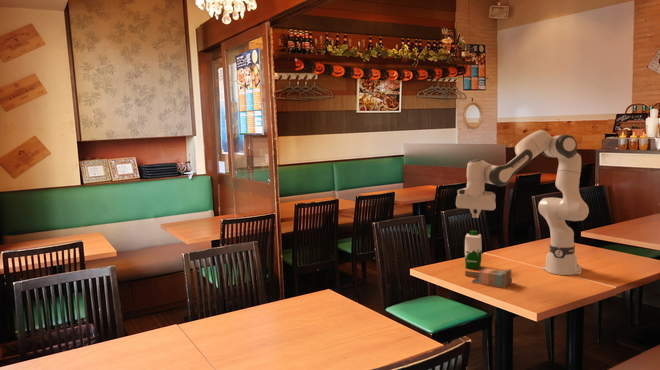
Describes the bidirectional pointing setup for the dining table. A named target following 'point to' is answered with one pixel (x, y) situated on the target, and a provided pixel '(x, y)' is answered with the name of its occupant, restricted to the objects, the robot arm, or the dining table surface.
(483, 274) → the salmon pink block
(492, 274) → the brown block
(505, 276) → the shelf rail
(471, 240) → the milk carton
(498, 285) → the teal rectangular block
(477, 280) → the bookend
